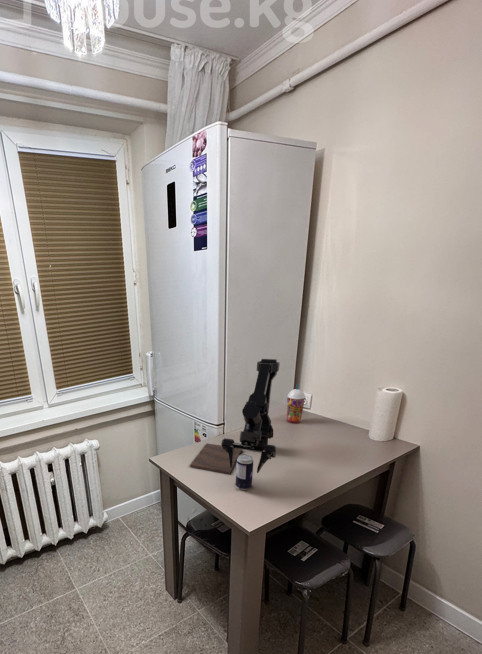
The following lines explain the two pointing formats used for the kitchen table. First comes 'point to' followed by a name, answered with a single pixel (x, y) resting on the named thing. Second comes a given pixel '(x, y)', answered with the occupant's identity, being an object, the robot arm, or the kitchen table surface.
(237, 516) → the kitchen table surface
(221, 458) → the board
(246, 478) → the beverage can
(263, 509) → the kitchen table surface
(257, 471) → the robot arm
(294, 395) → the smoothie
